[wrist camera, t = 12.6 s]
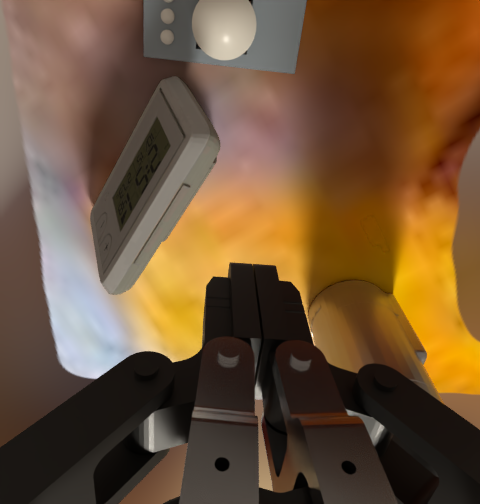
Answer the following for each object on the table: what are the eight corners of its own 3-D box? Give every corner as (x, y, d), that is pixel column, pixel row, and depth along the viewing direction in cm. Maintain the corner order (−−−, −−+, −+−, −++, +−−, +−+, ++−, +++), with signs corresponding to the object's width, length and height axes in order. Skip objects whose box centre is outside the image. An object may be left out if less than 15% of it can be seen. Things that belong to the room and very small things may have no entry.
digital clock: (176, 61, 36) (163, 87, 27) (253, 137, 39) (264, 182, 30) (65, 193, 41) (21, 251, 32) (140, 249, 45) (121, 315, 36)
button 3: (256, -9, 33) (260, -8, 30) (249, 57, 35) (252, 63, 32) (195, -17, 32) (193, -17, 29) (192, 50, 35) (190, 56, 32)
